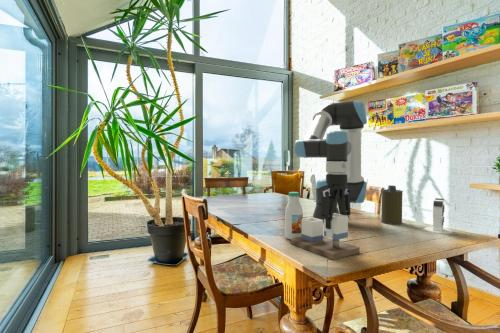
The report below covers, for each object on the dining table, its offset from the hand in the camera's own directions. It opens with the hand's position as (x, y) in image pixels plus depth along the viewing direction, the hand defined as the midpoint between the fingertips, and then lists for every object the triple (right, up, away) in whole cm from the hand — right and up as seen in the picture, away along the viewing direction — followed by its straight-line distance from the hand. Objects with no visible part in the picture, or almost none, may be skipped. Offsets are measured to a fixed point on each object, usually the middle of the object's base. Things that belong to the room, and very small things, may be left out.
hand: (336, 236), depth 105 cm
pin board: (-3, -6, +5) cm, 9 cm away
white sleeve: (0, 0, 0) cm, 0 cm away
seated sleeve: (-7, -4, +10) cm, 13 cm away
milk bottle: (-13, -6, +19) cm, 24 cm away
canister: (+45, -5, +49) cm, 66 cm away
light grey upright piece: (+59, -5, +31) cm, 67 cm away
